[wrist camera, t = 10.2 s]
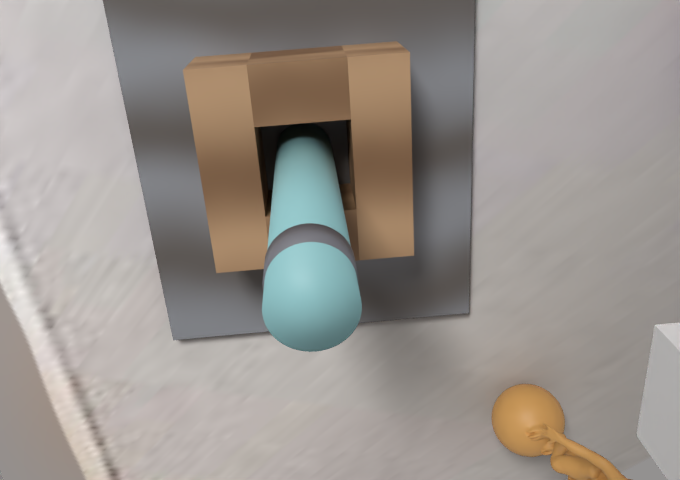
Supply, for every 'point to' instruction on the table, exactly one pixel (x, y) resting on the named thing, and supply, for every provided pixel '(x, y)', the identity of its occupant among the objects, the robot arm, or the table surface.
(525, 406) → the figurine
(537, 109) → the table surface
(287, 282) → the banded teal rod
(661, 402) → the robot arm
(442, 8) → the gray base plate
